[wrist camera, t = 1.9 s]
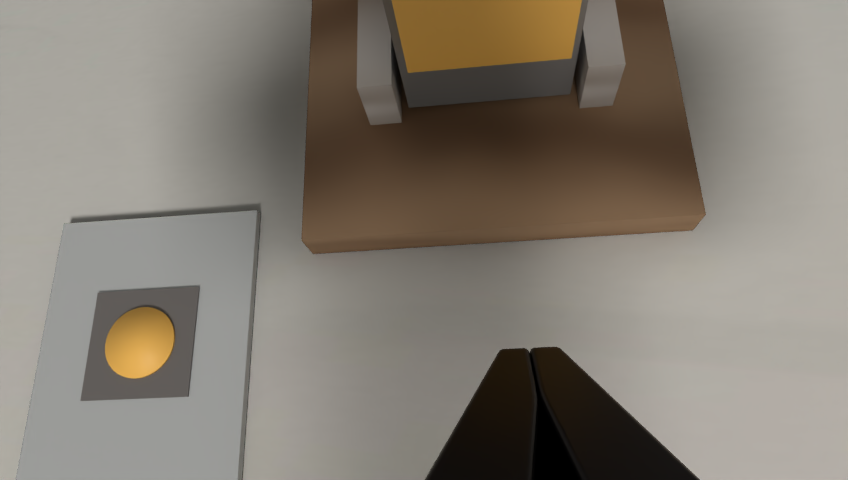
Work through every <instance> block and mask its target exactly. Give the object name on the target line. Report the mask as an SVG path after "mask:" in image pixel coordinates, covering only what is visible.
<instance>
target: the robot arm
mask: <svg viewBox="0 0 848 480" xmlns="http://www.w3.org/2000/svg"><path fill="white" fill-rule="evenodd" d="M425 480H700V479H699V478H697V477H696V476H695V475H694V474H693V473H692V472H691V471H690V470H689V469H688V468H687V467H686V466H685V465H684V464H683V463H681V462H680V461H679V460H678V459H677V458H676V457H675V456H674V455H673V454H672V453H671V452H670V451H669V450H668V449H667V448H666V447H664V446H663V445H662V444H661V443H660V442H659V441H658V440H657V439H656V438H655V437H654V436H653V435H652V434H651V433H650V432H649V431H647V430H646V429H645V428H644V427H643V426H642V425H641V424H640V423H639V422H638V421H637V420H636V419H635V418H634V417H633V416H631V415H630V414H629V413H628V412H627V411H626V410H625V409H624V408H623V407H622V406H621V405H620V404H619V403H618V402H617V401H616V400H614V399H613V398H612V397H611V396H610V395H609V394H608V393H607V392H606V391H605V390H604V389H603V388H602V387H601V386H600V385H599V384H597V383H596V382H595V381H594V380H593V379H592V378H591V377H590V376H589V375H588V374H587V373H586V372H585V371H584V370H583V369H581V368H580V367H579V366H578V365H577V364H576V363H575V362H574V361H573V360H572V359H571V358H570V357H569V356H568V355H567V354H566V353H564V352H563V351H562V350H561V349H560V348H558V347H541V348H532V349H531V351H530V353H529V351H528V350H527V349H525V348H519V349H502V350H500V351H499V353H498V354H497V356H496V358H495V360H494V361H493V363H492V365H491V366H490V368H489V370H488V372H487V373H486V375H485V377H484V379H483V380H482V382H481V384H480V385H479V387H478V389H477V391H476V392H475V394H474V396H473V397H472V399H471V401H470V403H469V404H468V406H467V408H466V410H465V411H464V413H463V415H462V416H461V418H460V420H459V422H458V423H457V425H456V427H455V429H454V430H453V432H452V434H451V435H450V437H449V439H448V441H447V442H446V444H445V446H444V448H443V449H442V451H441V453H440V454H439V456H438V458H437V460H436V461H435V463H434V465H433V467H432V468H431V470H430V472H429V473H428V475H427V477H426V479H425Z"/></svg>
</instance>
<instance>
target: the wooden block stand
mask: <svg viewBox="0 0 848 480" xmlns="http://www.w3.org/2000/svg"><path fill="white" fill-rule="evenodd" d="M705 215H706V213H705V208H704V203H703V198H702V193H701V188H700V183H699V178H698V173H697V168H696V163H695V158H694V153H693V148H692V143H691V138H690V133H689V128H688V123H687V117H686V112H685V107H684V102H683V97H682V92H681V87H680V82H679V77H678V72H677V67H676V62H675V57H674V52H673V47H672V42H671V37H670V32H669V27H668V22H667V17H666V12H665V7H664V2H663V0H588V5H587V10H586V15H585V21H584V26H583V31H582V36H581V41H580V46H579V51H578V56H577V62H576V67H575V72H574V77H573V82H572V87H571V92H570V94H568V95H556V96H544V97H532V98H520V99H508V100H496V101H484V102H472V103H460V104H448V105H436V106H425V107H413V108H409V107H408V103H407V98H406V94H405V90H404V86H403V82H402V78H401V74H400V70H399V66H398V62H397V58H396V54H395V50H394V46H393V41H392V37H391V33H390V29H389V25H388V21H387V17H386V13H385V9H384V5H383V1H382V0H312V18H311V41H310V63H309V85H308V107H307V130H306V152H305V174H304V197H303V219H302V241H303V243H304V244H305V245H306V246H307V247H308V248H309V250H310V251H311V252H312V253H313V254H318V253H334V252H350V251H367V250H383V249H399V248H415V247H431V246H447V245H463V244H479V243H495V242H512V241H528V240H544V239H560V238H576V237H592V236H608V235H624V234H640V233H656V232H673V231H689V230H693V229H694V228H695V227H696V226H697V224H698V223H699V222H700V221H701V220H702V218H703V217H704V216H705Z"/></svg>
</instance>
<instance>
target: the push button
mask: <svg viewBox="0 0 848 480" xmlns="http://www.w3.org/2000/svg"><path fill="white" fill-rule="evenodd" d="M382 1H383V5H384V9H385V13H386V17H387V21H388V25H389V29H390V33H391V37H392V41H393V46H394V50H395V54H396V58H397V62H398V66H399V70H400V74H401V78H402V82H403V86H404V90H405V94H406V98H407V103H408V107H409V108H413V107H425V106H436V105H448V104H460V103H472V102H484V101H496V100H508V99H520V98H532V97H544V96H556V95H568V94H570V92H571V87H572V82H573V77H574V72H575V67H576V62H577V56H578V51H579V46H580V41H581V36H582V31H583V26H584V21H585V15H586V10H587V5H588V0H382Z"/></svg>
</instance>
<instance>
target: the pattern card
mask: <svg viewBox="0 0 848 480" xmlns="http://www.w3.org/2000/svg"><path fill="white" fill-rule="evenodd" d="M260 217H261V214H260V213H259V212H258V211H257V210H253V211H238V212H224V213H210V214H195V215H181V216H166V217H152V218H138V219H123V220H109V221H94V222H80V223H66V224H64V225H63V231H62V236H61V241H60V246H59V252H58V257H57V262H56V268H55V273H54V278H53V284H52V289H51V294H50V300H49V305H48V310H47V315H46V321H45V326H44V331H43V337H42V342H41V347H40V353H39V358H38V363H37V369H36V374H35V379H34V385H33V390H32V395H31V400H30V406H29V411H28V416H27V422H26V427H25V432H24V438H23V443H22V448H21V454H20V459H19V464H18V469H17V475H16V480H242V473H243V459H244V445H245V431H246V416H247V402H248V388H249V374H250V359H251V345H252V331H253V317H254V303H255V288H256V274H257V260H258V246H259V231H260Z"/></svg>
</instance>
